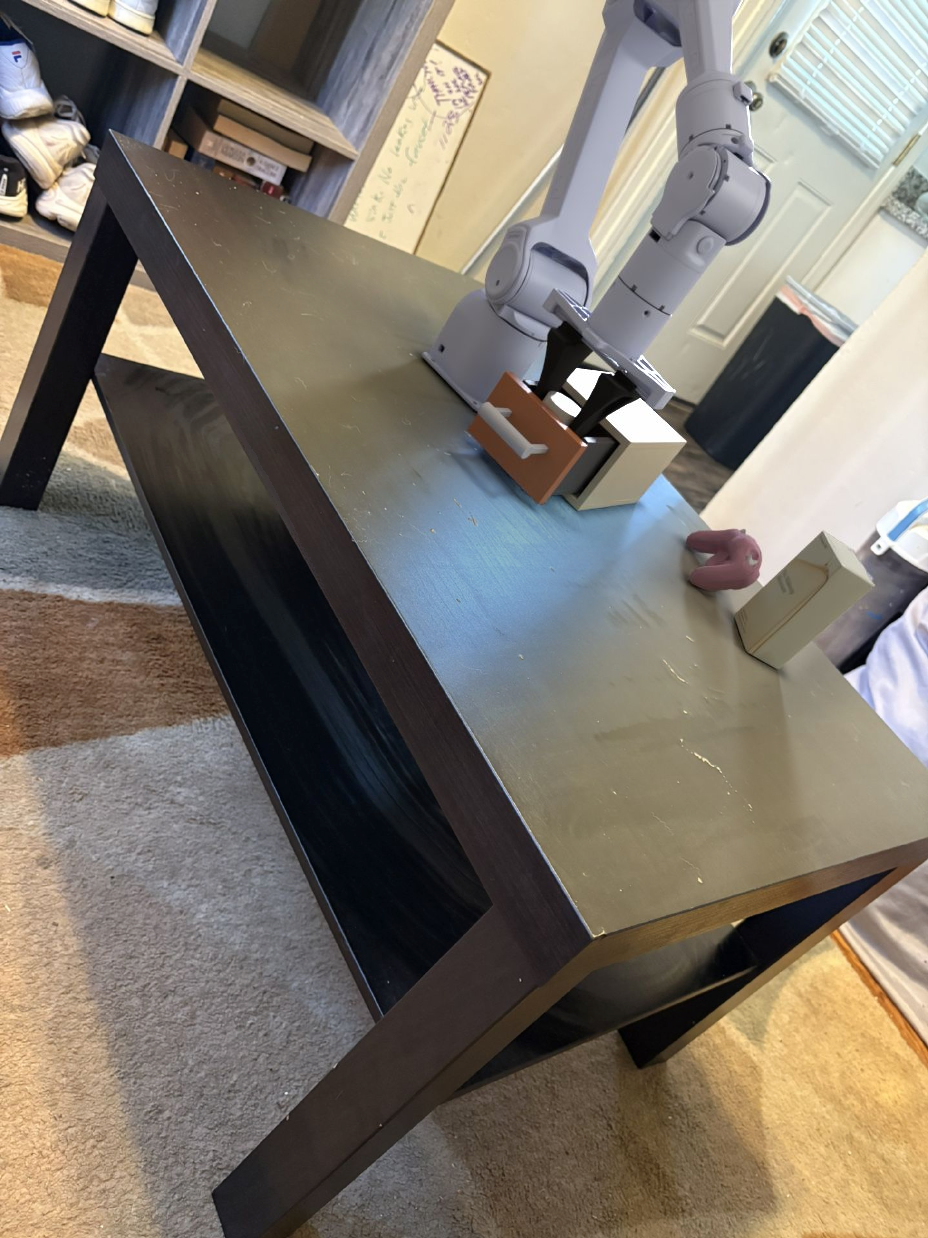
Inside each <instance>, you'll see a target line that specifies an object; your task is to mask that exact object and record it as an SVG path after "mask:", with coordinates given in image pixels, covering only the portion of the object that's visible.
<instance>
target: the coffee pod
mask: <svg viewBox="0 0 928 1238" xmlns="http://www.w3.org/2000/svg"><path fill="white" fill-rule="evenodd" d="M542 402H543V403H544V404H545V405H546V406H547V407H548V408H549V409H550V410H551V411H552V412H553V413H554V414H556V415H557V416H558V417H559V418H560V419H561V420H562V421H563V422H564V423H565V424H566V425H567V426H569V425H570V423H571V422H572V421H573V419H574V418H575V417H576V416H577V414H578V413H579V412H580V410H581V409H580V408H579V407H578V406H577V405H576V404H575V403H574V402H573V401H571V400H570V399H569V398H567V397H566V396H564V395H562V394H560V393H558V392H555V391H549V392H548V394H547V395H546V396H545V398H544V399H543V401H542Z"/></svg>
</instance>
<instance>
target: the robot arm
mask: <svg viewBox="0 0 928 1238" xmlns="http://www.w3.org/2000/svg"><path fill="white" fill-rule="evenodd" d="M743 1H744V0H605V3H604V5H603V8H602V11H601V17H602V20H603V24H604V29H603V32H602V34H601V37H600V39H599V42H598V45H597V48H596V51H595V53H594V57H593V59H592V61H591V65H590V68H589V70H588V73H587V77H586V80H585V83H584V85H583V89H582V91H581V94H580V97H579V100H578V103H577V106H576V107H575V111H574V113H573V118H572V120H571V122H570V125H569V129H568V132H567V135H566V137H565V140H564V143H563V145H562V148H561V151H560V155H559V157H558V160H557V163H556V166H555V169H554V172H553V175H552V177H551V181H550V183H549V185H548V189H547V192H546V195H545V197H544V200H543V204H542V206H541V209H540V211H539V215H538V216H534V217H532V218H527V219H525V220H521V221H519V222H516V223H515V224H512V225H511V226H509V227H508V228H507V230H506V232H505V234H504V237H503V239H502V241H501V243H500V246H499V247H498V249H497V251H496V252H495V253H494V255H493V256H492V258H491V260H490V262H489V264H488V267H487V270H486V273H485V277H484V288H479V289H474V290H472V291H470V292H469V293H467V294H466V295H465V296H463V298H462V299H460V301H458V302H457V304H455V306H454V308H453V309H452V311H451V313H450V315H449V316H448V318H447V320H446V321H445V323H444V325H443V326H442V328H441V329H440V332H439V333H438V335H437V337H436V338H435V340H434V342H433V343H432V345H431V347H430V349H429V350H428V351H423V352H422V354H421V357H422V358H423V359H424V360H425V361H426V362H427V363H428V364H429V366H430V367H432V369H433V370H435V372H437V374H439V376H441V378H442V379H443V380H444V381H445V382H446V383H447V384H448V385H449V386H450V387H451V388H452V389H453V390H454V391H455V392H456V393H457V394H458V395H459V396H460V397H461V399H463V400H464V401H465V402H466V403H467V404H468V405H469V407H471V409H473V411H475V412H477V413H478V410H479V408H480V407H481V405H482V404H484V403H485V402H486V400H487V398H488V397H489V395H490V394H491V392H492V391H493V389H494V388H495V386H496V385H497V383H498V382H499V380H500V379H501V377H502V376H503V374H504V373H505V371H506V372H513V373H514V374H515V375H516V376H517V377H518V378H519V379H520V380H521V381H522V380H523V378H524V377H525V375H526V374H527V372H528V371H529V369H530V368H531V366H532V365H533V363H534V362H535V360H536V359H537V357H538V356H539V355H540V353H541V351H542V350H543V349H544V347H545V345H546V348H545V355H544V359H543V360H544V361H543V364H542V365H543V366H542V368H541V373H540V376H539V379H538V381H539V382H538V385H537V388H536V390H535V393H534V394H535V395H536V396H537V397H538V398H539V399H540V400H541V401H543V399H544V398H545V396H546V395H547V394H548V392H549V391H555V392H559V391H560V389H561V388H562V386H563V385H564V383H565V382H566V381H567V379H568V378H569V377H570V376H571V374H572V373H573V372H574V371H575V370H576V369H577V368H579V366H580V365H581V364H583V362H585V360H586V359H587V358H588V357H589V356H590V355H591V354H593V352H594V353H595V355H597V356H598V357H599V358H600V359H601V360H602V361H603V362H604V363H605V364H607V366H609V367H610V368H611V369H612V370H613V371H614V373H613V374H614V375H613V374H611V373H612V372H608V373H603V372H604V371H601V372H602V373H601V374H600V375H599V377H598V379H597V381H596V384H595V386H594V388H593V390H592V392H591V394H590V396H589V397H588V399H587V401H586V403H585V404H584V406H583V408H582V409H581V410H580V412H579V413H578V414H577V416H576V417H575V418H574V419H573V421H572V422H571V423H570V425H569V426H568V427H569V428H570V429H571V430H572V431H573V432H574V433H575V434H576V435H577V436H578V437H579V438H581V437H582V436H583V435H585V434H586V433H587V432H588V431H589V430H590V429H591V428H593V427H594V426H595V425H596V424H598V423H599V422H600V421H602V420H603V419H605V418H606V417H608V416H609V415H611V414H612V413H614V412H616V411H617V410H619V409H621V408H623V407H625V406H626V405H628V404H630V403H633V402H635V401H637V400H639V399H642V398H643V399H644V400H645V401H644V403H646V404H647V405H648V406H649V407H650V408H651V409H652V410H663V409H664V408H665V406H666V405H667V404H668V403H669V401H670V400H671V399H672V397H673V396H674V395H675V394H676V390H675V389H673V388H672V386H670V385H669V384H668V383H667V382H666V380H664V379H663V377H662V376H661V375H660V374H659V373H658V372H657V370H656V369H655V368H654V367H653V366H652V365H651V364H650V363H649V362H648V360H646V358H645V357H644V356H643V355H644V354H645V352H646V351H647V349H648V348H649V347H650V345H651V344H652V343H653V341H654V340H655V339H656V337H658V335H659V334H660V332H661V331H662V329H663V328H664V327H665V325H667V323H668V321H669V320H670V318H671V317H672V316H673V315H674V313H675V312H676V311H677V310H678V308H679V307H680V306H681V304H682V303H683V301H684V300H685V299H686V297H687V296H688V295H689V293H690V292H691V291H692V289H693V288H694V287H695V286H696V284H697V283H698V281H699V280H700V279H701V278H702V276H703V274H705V272H706V271H707V270H708V268H709V267H710V266H711V264H712V263H713V261H714V260H715V259H716V257H717V256H718V255H719V253H720V252H721V250H722V249H723V248H724V247H732V246H735V245H737V244H740V243H742V242H743V241H745V240H746V239H748V238H749V237H750V236H751V235H752V234H753V233H754V232H755V231H756V230H757V229H758V228H759V226H760V225H761V223H762V221H763V220H764V218H765V217H766V214H767V212H768V210H769V207H770V203H771V197H772V196H771V195H772V194H771V191H772V188H773V187H772V186H773V183H772V181H771V179H770V177H769V176H767V175H766V174H765V173H763V172H762V171H760V170H759V169H758V168H757V167H758V166H757V165H756V163H754V158H753V157H754V156H753V153H754V152H755V141H754V140H753V139H752V136H751V135H752V134H751V133H752V132H751V123H750V122H751V121H750V110H749V106H750V105H751V104H752V103H753V102H754V99H753V90H752V88H750V87H749V86H748V85H747V84H746V83H744V82H743V80H742V79H741V78H739V76H737V75H735V74H733V73H732V72H733V71H732V70H733V69H732V67H733V65H732V63H733V18H734V17H735V15H736V14H737V12H738V10H739V8H740V6H741V5H742V2H743ZM682 58H683V65H684V70H685V77H686V78H685V79H686V85H685V87H683V89H682V90H681V91H680V93H679V94H678V97H677V99H676V102H675V107H674V109H675V110H674V112H675V128H676V129H675V131H676V147H677V148H676V149H677V162H676V163H674V165H673V167H672V168H671V171H670V172H669V175H668V177H667V179H666V181H665V185H664V189H663V194H662V197H661V199H660V201H659V203H658V205H656V207H655V209H654V210H653V212H652V213H651V216H652V217H651V218H650V221H649V223H650V225H651V227H650V228H649V229H648V231H647V233H646V234H645V235H644V237H643V238H642V240H641V241H640V242H639V244H638V246H636V248H635V250H633V252H632V254H631V255H630V257H629V258H628V260H627V261H626V263H625V264H624V265H623V267H622V269H621V270H620V271H619V273H618V274H617V276H616V277H615V279H614V280H613V281H612V282H611V284H610V286H609V287H608V289H607V290H606V291H605V293H604V294H603V296H602V297H601V299H600V300H599V301H598V303H597V305H596V306H595V307H594V309H593V310H592V311H590V309H591V306H592V302H593V294H594V293H593V291H594V282H595V277H596V274H597V272H598V268H599V262H598V259H597V257H596V253H595V250H594V248H593V246H592V243H591V238H590V232H591V230H592V226H593V224H594V221H595V218H596V214H597V212H598V209H599V207H600V204H601V202H602V198H603V195H604V193H605V190H606V187H607V185H608V181H609V179H610V176H611V173H612V171H613V168H614V164H615V162H616V159H617V156H618V154H619V150H620V148H621V145H622V142H623V140H624V137H625V134H626V131H627V128H628V126H629V123H630V120H631V117H632V115H633V112H634V109H635V106H636V104H637V100H638V98H639V94H640V92H641V89H642V87H643V84H644V81H645V78H646V76H647V73H648V71H650V69H652V68H669V67H671V66H672V65H674V64H675V63H677V62H678V61H679V60H681V59H682Z"/></svg>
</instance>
